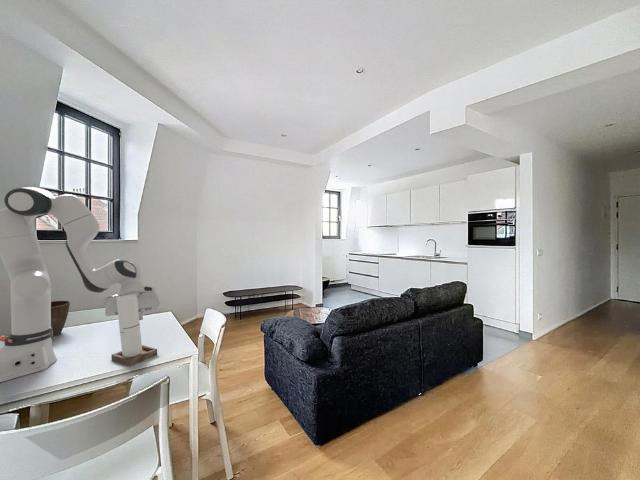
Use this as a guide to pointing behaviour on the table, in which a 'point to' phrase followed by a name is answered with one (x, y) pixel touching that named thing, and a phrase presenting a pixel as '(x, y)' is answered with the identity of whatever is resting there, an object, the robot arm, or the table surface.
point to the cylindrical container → (129, 325)
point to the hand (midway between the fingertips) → (134, 320)
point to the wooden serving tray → (130, 361)
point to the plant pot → (59, 315)
